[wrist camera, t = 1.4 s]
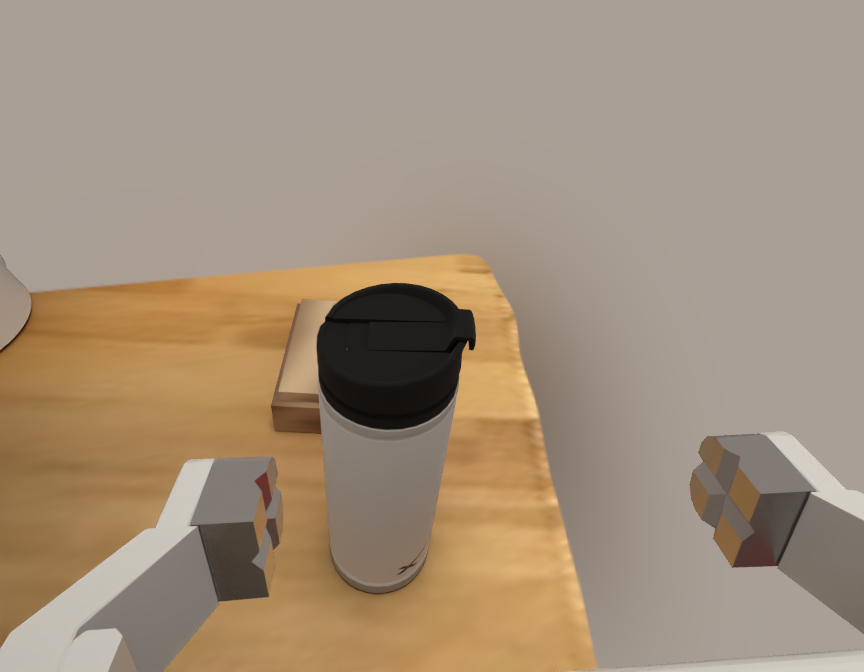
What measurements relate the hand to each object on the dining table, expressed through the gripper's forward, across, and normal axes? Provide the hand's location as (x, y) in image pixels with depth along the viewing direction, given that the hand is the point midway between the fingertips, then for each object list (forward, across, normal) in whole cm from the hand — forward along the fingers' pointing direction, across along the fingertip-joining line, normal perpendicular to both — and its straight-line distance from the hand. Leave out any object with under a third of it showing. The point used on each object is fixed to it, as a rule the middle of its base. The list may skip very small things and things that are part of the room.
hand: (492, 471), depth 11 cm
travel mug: (+18, +3, +22) cm, 29 cm away
